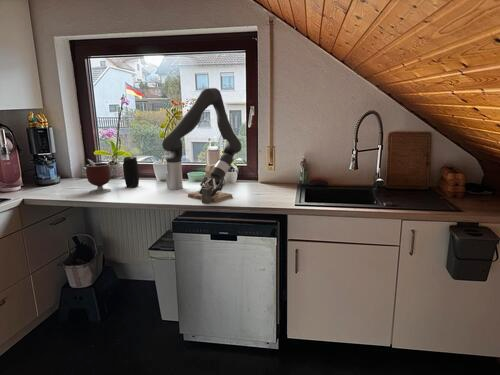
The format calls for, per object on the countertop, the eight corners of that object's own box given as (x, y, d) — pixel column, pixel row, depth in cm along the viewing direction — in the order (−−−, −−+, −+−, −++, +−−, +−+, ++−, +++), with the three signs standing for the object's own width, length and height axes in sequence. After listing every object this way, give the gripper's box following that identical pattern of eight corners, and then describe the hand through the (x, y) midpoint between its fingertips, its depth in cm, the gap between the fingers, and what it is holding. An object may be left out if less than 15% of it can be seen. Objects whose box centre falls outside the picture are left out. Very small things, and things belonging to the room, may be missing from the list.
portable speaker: (125, 185, 240) (123, 156, 236) (140, 184, 242) (138, 156, 238) (124, 188, 232) (121, 158, 228) (139, 187, 234) (137, 157, 230)
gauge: (202, 202, 194) (201, 188, 192) (215, 199, 201) (214, 185, 200) (207, 204, 191) (206, 189, 189) (220, 200, 199) (219, 186, 197)
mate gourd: (117, 190, 226) (114, 159, 222) (98, 195, 214) (95, 162, 210) (100, 188, 233) (97, 157, 229) (81, 192, 222) (77, 160, 217)
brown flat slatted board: (187, 196, 207) (187, 193, 207) (205, 192, 218) (205, 189, 217) (215, 202, 194) (215, 199, 193) (232, 197, 204) (232, 194, 204)
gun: (209, 190, 224) (209, 166, 222) (204, 189, 225) (203, 166, 223) (220, 185, 248) (220, 163, 246) (215, 185, 249) (215, 163, 247)
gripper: (207, 165, 200) (193, 189, 194) (226, 167, 191) (211, 192, 185) (214, 173, 205) (200, 196, 199) (233, 176, 196) (219, 200, 190)
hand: (206, 194), depth 192 cm, fingers open, 8 cm apart
